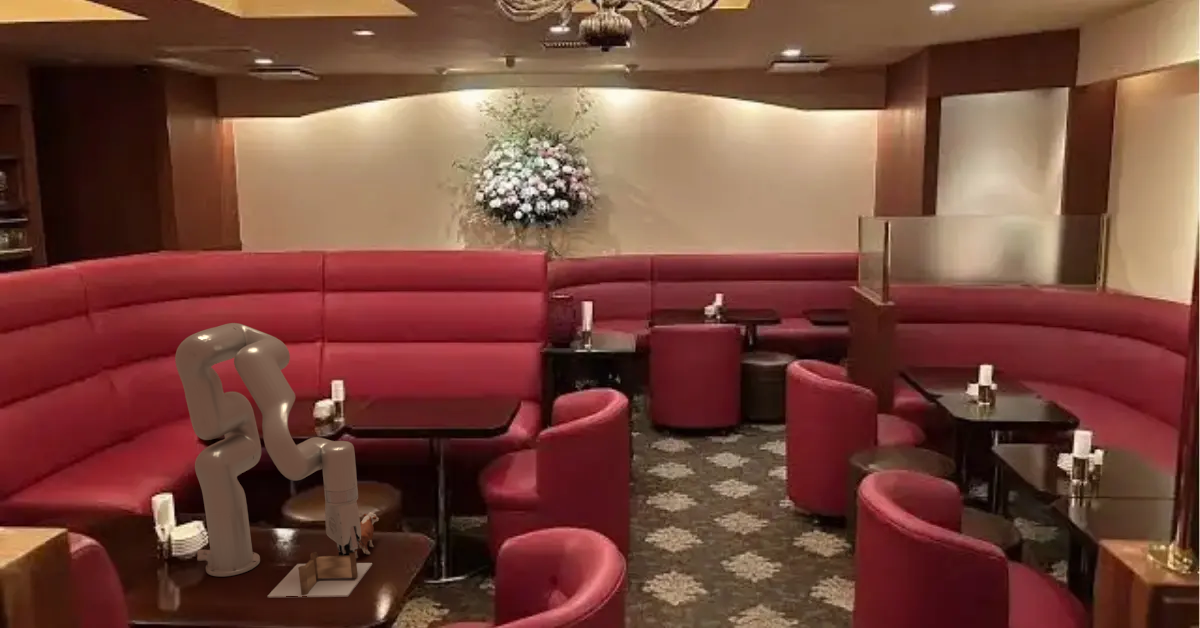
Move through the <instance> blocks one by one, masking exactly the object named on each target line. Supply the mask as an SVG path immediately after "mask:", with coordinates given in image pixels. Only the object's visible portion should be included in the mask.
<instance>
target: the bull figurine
mask: <svg viewBox="0 0 1200 628" xmlns="http://www.w3.org/2000/svg"><path fill="white" fill-rule="evenodd" d="M379 519H380V518H379V517H378V516H377V514H376V513H374V512H371V511H369V512H368V514H367V513H364V514H363V518H362V520H360V526H361V540H360V541H357V545H358V549H361V550H362V552H363V554H366V555H371V552H370V551H369V549H368V548H374V547H375V546H374V545H373V536H374V531H375V530H374V529H375V528H374V524H375V523H377V522H378V521H379ZM368 542H369V547H368ZM358 549H355V551H354V552H355V554H356V559H359V555H358Z"/></svg>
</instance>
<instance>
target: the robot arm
mask: <svg viewBox="0 0 1200 628" xmlns="http://www.w3.org/2000/svg"><path fill="white" fill-rule="evenodd" d="M174 359H175V367H176V370H177V373H178V375H179V378H180V381H181V383H182V387H183V390H184V395H185V396H184V397H185V401H186V404H187V409H188V413H189V418H190V422H191V426H192V429H193V431H194V434H195V435H196V436H197V438H199V439H201V440H203V441H209V440H210V441H211V440H214V439H217V438H220V437H222V436H224V439H221V440H219V441H216V442H215V443H212V444H210V445H209V446H207V447H205V448H204V449H203V450H202V451H201V452H200V453H199V454H198V455H197V456H196V459H195V462H194V471H195V474H196V477H197V480H198V482H199V485H200V489H201V493H202V498H203V499H202V500H203V504H204V505H203V506H204V513H205V518H206V526H207V534H208V543H209V547H210V548H209V549H198V551H197V554H196V555H197V557H196V558H197V561H198V562H199V561H201V562H204V561H206V562H207V564H206V565H205V572H206V573H207V574H208V575H210V576H211V577H212V576H213V577H231V576H237V575H240V574H244V573H246V572H248V571H251V570H253V569H254V568H256V567H257V566H258V565H259V564H260V562H261V557H260V555H259V554H258V553H257V552H254V551H253V545H252V537H251V529H250V521H249V512H248V504H247V498H246V493H245V490H244V488H243V486H242V485H241V484H240V482H239V480H238V476H240V475H242V473H245V472H246V471H247V472H248V471H249V470H251V469H252V468H254V467H255V466H256V465H257V464H258V463H259V462H260V459H261V456H262V444H261V439H260V434H259V431H258V426H257V420H256V416H255V413H254V409H253V407H252V404H251V402H250V401H249V399H248V398H247V397H246V396H245V395H243V394H242V393H241V392H238V391H225V392H224V389H223V382H222V380H221V378H220V376H219V374H218V372H217V371H216V370H215V369H214V368H213V366H214V365H217V364H220V363H223V362H226V361H229V360H231V359H233V365H234V368H235V370H236V372H237V374H238V375H239V377H240V378H241V380H242V382H243V383H244V385H245V387H246V389H247V390H248V392H249V393H250V396H251V397H252V398H253V400H254V402H255V404H256V406H257V407H258V409H259V410H260V412H261V415H262V416H261V417H262V424H261V427H262V437H263V442H264V447H265V450H266V451H267V454H268V455H269V457H270V459H271V460H272V462H273V464H274V465H275V466H276V469H277V470H278V471H279V472H280V474H282V475H283V477H285V478H286V479H288V480H290V481H301V480H303V479H305V478H306V477H308V476H310V475H312V474H313V473H315V472H318V471H320V470H322V477H323V490H324V500H325V501H324V502H325V506H324V507H325V508H324V511H325V512H324V517H325V518H324V519H325V534H326V535H327V537H328V538H330V540H332V541H334V542H335V543H336V548H337V551H338V556H349V553H350V552H354V551H355V549H357V550H358V549H359V546H358V545H357V541H360V540H361V526H360V522H361V520H360V519H361V518H360V512H359V511H360V510H359V507H358V503H357V500H359V490H358V479H357V477H358V476H357V465H356V454H355V447H354V444H353V443H352V442H350V441H345V440H335V441H334V440H330V439H327V438H324V437H320V436H319V437H317V436H314V437H311V438H308V439H306V440H304V441H302V442H300V443H297V444H296V443H295V441H294V440H293V438H292V436H291V433H290V430H289V416H290V412H291V410H292V408H293V405H294V404H295V401H296V393H295V392H294V390H293V388H292V387H291V385H290V383H289V382H288V380H287V379H286V377H285V375H284V373H283V372H282V370H283V369H286V367H287V366H288V365H289V363H290V361H291V360H290V359H291V354H290V350H289V348H288V347H287V345H286V344H285V343H284V341H282V340H280V338H279V339H278V338H277V337H276V336H273V335H271V334H268V333H266V332H263V331H260V330H258V329H256V328H253V327H250V326H247V325H245V324H242V323H239V322H238V323H237V322H231V323H225V324H222V325H219V326H215V327H210V328H207V329H204V330H201V331H197V332H196V333H193V334H191V335H189V336H187V337H186V338H185V339H184V340H183V341H181V343H179V345H178V346H177V348H176V352H175V358H174Z"/></svg>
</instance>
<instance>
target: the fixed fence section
mask: <svg viewBox="0 0 1200 628" xmlns="http://www.w3.org/2000/svg"><path fill="white" fill-rule="evenodd" d="M305 564H306V565H305V566H300V567H298V569H299V578H300V587H301V595H307V594H308V593H309V590H310V589H311V588H312V587H313V586H314V585H315V583H316V574H315V565H314V560H311V559H310V560H308V562H306V563H305Z"/></svg>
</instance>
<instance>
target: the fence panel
mask: <svg viewBox="0 0 1200 628" xmlns="http://www.w3.org/2000/svg"><path fill="white" fill-rule="evenodd" d="M310 560H314V565H315V574H316V580H317V579H319V578H343V577H352V578H357V577H358V573H357V563H358V562H357V558H356V554H355V552H350V553H349V556H339V555H326V556H325V555H322V556H318V552H317V551H313V552H310Z"/></svg>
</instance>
